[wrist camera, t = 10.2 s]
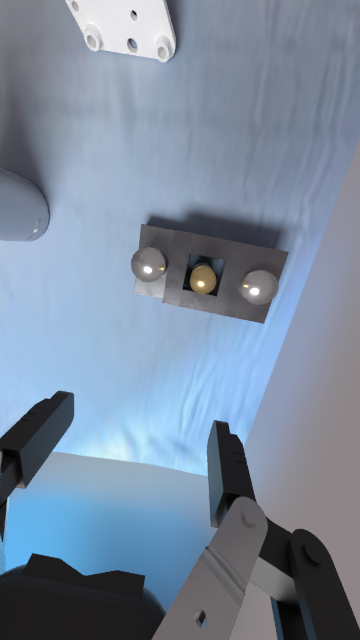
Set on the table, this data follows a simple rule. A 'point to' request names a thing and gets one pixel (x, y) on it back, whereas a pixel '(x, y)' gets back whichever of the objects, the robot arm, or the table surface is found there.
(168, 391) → the table surface
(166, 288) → the knobbed metal plate
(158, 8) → the mounting bracket
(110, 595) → the robot arm
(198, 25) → the table surface
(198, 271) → the brass pin
